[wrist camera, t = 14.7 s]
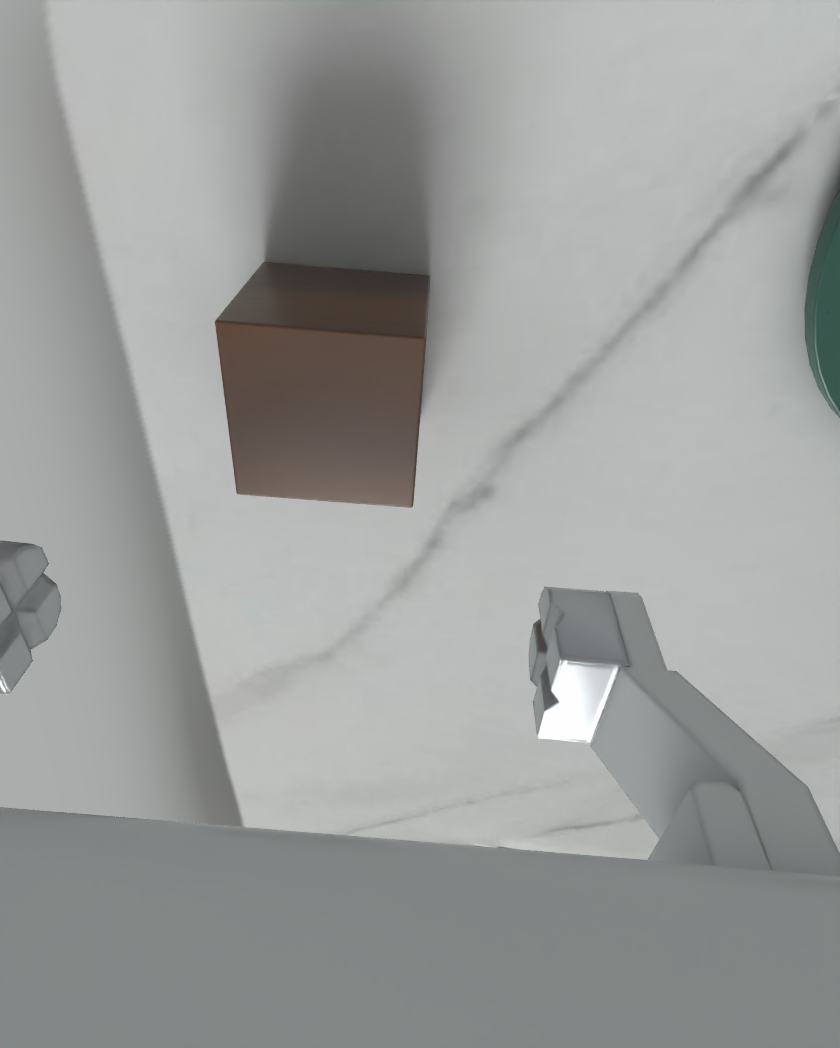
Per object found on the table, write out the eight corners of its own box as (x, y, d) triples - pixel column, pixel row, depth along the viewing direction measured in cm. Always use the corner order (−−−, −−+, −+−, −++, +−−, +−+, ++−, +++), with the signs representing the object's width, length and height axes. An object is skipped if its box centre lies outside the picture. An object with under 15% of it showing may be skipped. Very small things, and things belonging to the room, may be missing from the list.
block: (262, 261, 17) (213, 320, 13) (430, 275, 17) (426, 337, 14) (274, 412, 20) (236, 495, 16) (418, 423, 20) (412, 508, 16)
